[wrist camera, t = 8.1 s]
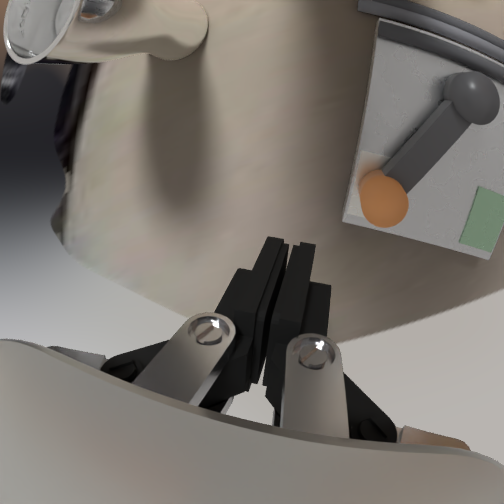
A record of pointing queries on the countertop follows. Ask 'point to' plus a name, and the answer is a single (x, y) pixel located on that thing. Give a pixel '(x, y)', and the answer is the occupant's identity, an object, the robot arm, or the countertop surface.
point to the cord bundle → (398, 8)
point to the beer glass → (102, 30)
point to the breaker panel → (451, 163)
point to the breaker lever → (428, 146)
